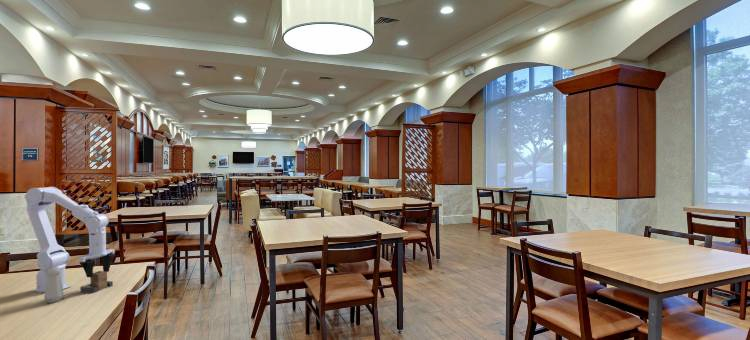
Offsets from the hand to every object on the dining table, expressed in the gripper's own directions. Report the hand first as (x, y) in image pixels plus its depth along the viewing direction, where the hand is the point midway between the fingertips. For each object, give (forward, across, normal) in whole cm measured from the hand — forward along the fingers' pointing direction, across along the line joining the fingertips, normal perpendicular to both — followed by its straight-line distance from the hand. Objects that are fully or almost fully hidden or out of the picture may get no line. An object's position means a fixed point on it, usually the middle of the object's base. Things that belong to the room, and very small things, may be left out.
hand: (98, 274), depth 156 cm
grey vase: (+6, -15, +4) cm, 17 cm away
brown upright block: (+6, 0, 0) cm, 6 cm away
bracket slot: (+6, 0, 0) cm, 6 cm away
